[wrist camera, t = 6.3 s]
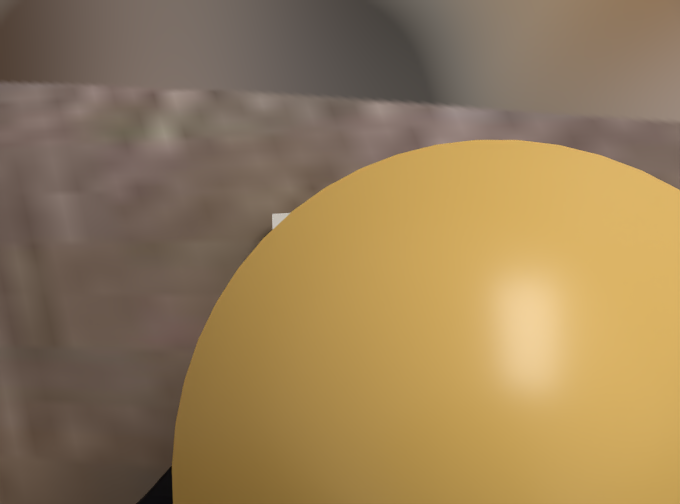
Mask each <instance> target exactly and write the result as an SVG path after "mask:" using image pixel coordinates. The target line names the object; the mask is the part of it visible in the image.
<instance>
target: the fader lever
mask: <svg viewBox="0 0 680 504" xmlns="http://www.w3.org/2000/svg"><path fill="white" fill-rule="evenodd" d="M172 490H173V504H680V190H679V189H677V188H675V187H673V186H671V185H669V184H667V183H665V182H663V181H661V180H659V179H657V178H655V177H653V176H651V175H649V174H647V173H646V172H644V171H641V170H639V169H636V168H633V167H631V166H628V165H625V164H623V163H620V162H617V161H615V160H612V159H609V158H607V157H604V156H601V155H597V154H593V153H589V152H585V151H581V150H577V149H573V148H569V147H565V146H561V145H554V144H546V143H537V142H529V141H521V140H472V141H464V142H456V143H447V144H439V145H433V146H429V147H425V148H421V149H417V150H413V151H409V152H405V153H401V154H397V155H395V156H392V157H389V158H387V159H384V160H382V161H379V162H377V163H374V164H371V165H369V166H366V167H364V168H361V169H359V170H357V171H355V172H353V173H352V174H350V175H348V176H346V177H344V178H342V179H340V180H339V181H337V182H335V183H333V184H331V185H329V186H327V187H326V188H324V189H323V190H321V191H320V192H319V193H317V194H316V195H314V196H313V197H312V198H310V199H309V200H307V201H306V202H305V203H303V204H302V205H300V206H299V207H298V208H296V209H295V210H293V211H292V212H291V213H290V214H289V215H288V216H287V217H286V218H285V219H284V220H283V221H281V222H280V223H279V224H278V225H277V226H276V227H275V228H274V229H273V230H272V231H271V232H270V233H269V234H267V235H266V236H265V237H264V238H263V239H262V241H261V242H260V243H259V244H258V245H257V247H256V248H255V249H254V250H253V251H252V253H251V254H250V255H249V256H248V257H247V259H246V260H245V261H244V262H243V263H242V265H241V266H240V267H239V268H238V270H237V271H236V273H235V274H234V276H233V277H232V279H231V280H230V282H229V284H228V285H227V287H226V288H225V290H224V291H223V293H222V294H221V296H220V298H219V299H218V301H217V302H216V304H215V306H214V308H213V310H212V312H211V314H210V316H209V319H208V321H207V323H206V325H205V327H204V329H203V331H202V333H201V335H200V337H199V339H198V342H197V345H196V348H195V351H194V354H193V357H192V360H191V363H190V366H189V369H188V372H187V375H186V378H185V381H184V385H183V390H182V395H181V400H180V404H179V409H178V414H177V419H176V424H175V436H174V448H173V459H172Z"/></svg>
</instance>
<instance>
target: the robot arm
mask: <svg viewBox="0 0 680 504" xmlns="http://www.w3.org/2000/svg"><path fill="white" fill-rule="evenodd" d="M137 504H173V490H172V466H171V467H170V468H169V469H168V470H167V472H166V473H165V474H164V475H163V476H162V477H161V478H160V479H159V481H158V482H157V483H156V484H155V485H154V486H153V487H152V488H151V490H150V491H149V492H148V493H147V494H146V495H145V496H144V497H143V498H142V499H141V500H140V501H139V502H138V503H137Z"/></svg>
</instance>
